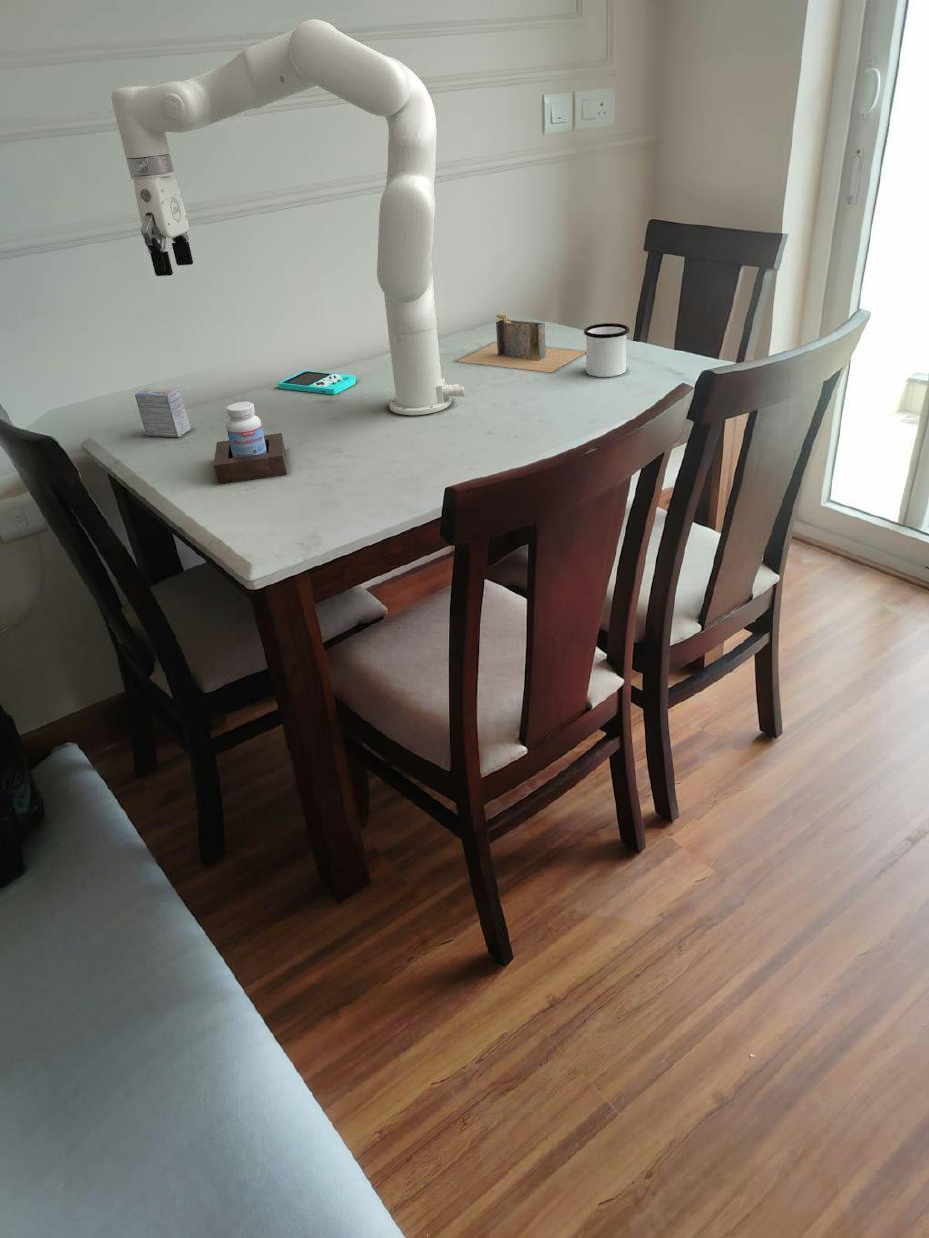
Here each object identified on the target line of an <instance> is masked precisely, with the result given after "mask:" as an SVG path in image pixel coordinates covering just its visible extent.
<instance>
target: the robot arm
mask: <svg viewBox="0 0 929 1238" xmlns="http://www.w3.org/2000/svg"><path fill="white" fill-rule="evenodd" d="M314 87H318V88H320V89H323V90H324V91H326V92H328V93H330V94H332V95H334V96H336V97H337V98H339V99H342V100H343V101H346V102H347V103H349V104H351V105H353V106H355V107H357V108H358V109H361V110H363V111H365V112H367V114H371V115H374V116H377V117H382V118H383V117H385V120H386V123H387V127H388V141H387V142H388V143H387V170H386V183H385V189H384V191H383V193H382V195H381V199H380V203H379V213H378V214H379V215H378V235H377V236H378V237H377V238H378V239H377V240H378V241H377V263H376V277H377V282H378V285H379V288H380V289H381V291H382V293H383V297H384V306H385V316H386V317H385V318H386V324H387V334H388V341H389V350H390V357H391V358H390V359H391V367H392V376H393V384H394V393H395V396H394V397H392V398H391V399H390V400H389V402H388V405H389V409H390V411H391V412H393V413H395V414H398V415H402V416H423V415H429V414H434V413H438V412H441V411H443V410H446V409H447V408H448V407H450V406H451V404H452V397H465V393H466V391H465V390H466V389H465V386H460V383H456V384H455V383H454V384H448V383H446V381H445V377H442V371H441V369H442V368H441V360H440V359H441V358H440V348H439V347H440V346H439V338H438V337H439V335H438V327H437V326H438V322H437V311H436V301H435V299H436V298H435V289H434V288H435V286H434V271H433V262H432V258H433V244H434V243H433V242H434V232H435V231H434V230H435V216H436V215H435V214H436V197H435V195H436V194H435V183H436V182H435V180H436V166H437V165H436V164H437V139H438V138H437V137H438V136H437V135H438V134H437V133H438V132H437V129H438V128H437V117H436V111H435V107H434V104H433V100H432V97H431V96H430V93H429V91H428V88H426V86H425V85H424V83H423V81H422V80H421V79H420V77H418V76H417V74H415V72H414V71H412V70H411V69H410V68H409V67H408V66H406V65H405V64H403V63H402V62H401V61H399V60H398V59H396V58H395V57H392V56H388V55H385V54H383V53H381V52H379V51H377V50H375V49H373V48H371V47H369V46H368V45H365V44H364V43H361V42H360V41H358V40H356V39H354V38H352V37H350V36H349V35H346V34H345V33H343V32H341V31H340V30H338V29H337V28H336V27H335V25H332V24H331V23H329V22H327V21H324V20H321V19H308V20H304V21H303V22H301V23H299V25H297V26H296V27H295V28H294V29H291V30H290V31H287V32H284V33H282V34H280V35H277V36H275V37H272V38H270V39H267V40H265V41H261V42H259V43H257V44H256V43H255V44H254V45H250V46H248V47H246V48H244V49H242V50H241V51H240V52H238V53H237V54H236V56H235V57H233V58H232V59H231V60H230V61H228V62H226V63H225V64H223V65H221V66H219V67H217V68H214V69H212V70H209V71H207V72H205V73H202V74H199V75H197V76H193V77H191V78H188V79H186V80H174V81H173V80H172V81H167V82H163V83H160V84H156V85H153V86H152V85H151V86H148V85H135V86H126V87H119V88H115V89H113V91H112V92H111V103H112V104H111V105H112V107H113V112H114V116H115V119H116V124H117V127H118V131H119V136H120V140H121V143H122V148H123V152H124V155H125V158H126V164H127V168H128V171H129V175H130V179H131V180H133V184H134V192H135V198H136V199H135V200H136V203H137V208H138V209H137V210H138V213H139V218H140V223H141V228H140V233H141V236H142V237H143V240H144V244H145V246H146V247H147V252H148V253H149V255H150V259H151V263H152V268H153V270H154V275H155V276H156V277H167V276H169V277H171V276H172V275H173V274H174V271H173V267H172V263H171V258H170V255H169V251H166V245H167V238H168V239H171V240H172V241H173V242H171V247H172V250H173V255H174V259H175V263H176V265H177V266H190V265H193V264H194V260H193V259H194V258H193V255H192V250H191V247H190V242H189V241H190V238H189V235H188V231H189V229H190V224H189V219H188V215H187V211H186V208H185V204H184V201H183V198H182V193H181V190H180V187H179V185H178V182H177V179H176V177H175V169H174V165H173V161H172V156H171V152H170V149H169V147H170V146H169V144H168V139H167V134H166V133H175V134H176V133H177V134H178V133H179V134H180V133H182V134H183V133H187V132H191V131H196V130H200V129H203V128H206V127H207V126H210V125H213V124H215V123H218V122H221V121H223V120H226V119H228V118H230V117H234V116H236V115H238V114H241V113H243V112H246V111H249V110H253V109H259V108H263V107H265V106H267V105H270V104H273V103H275V102H279V101H280V100H284V99H285V98H288V97H290V96H294V95H297V94H298V93H301V92H304V91H307V90H309V89H312V88H314Z"/></svg>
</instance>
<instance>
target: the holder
mask: <svg viewBox="0 0 929 1238" xmlns="http://www.w3.org/2000/svg"><path fill="white" fill-rule="evenodd" d="M264 439H265V444H266V449H267V453H265V454H258V455H251V456H244V457H236V458H233V456H232V451H231V446H230V442H229V439H228V440H222V441H216V445H215V451H214V452H215V453H214V459H213V469H214V470H213V471H214V474H215V478H216V483H217V485H223V484H230V483H236V482H244V481H250V480H258V479H264V478H265V479H266V478H273V477H278V476H279V477H280V476H286V475H287V474H288V473H287V457H286V447H285V441H284V437H283V432H280V433H272V434H271V433H270V434H264Z"/></svg>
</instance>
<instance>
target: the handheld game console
mask: <svg viewBox="0 0 929 1238" xmlns="http://www.w3.org/2000/svg"><path fill="white" fill-rule="evenodd" d="M356 382H357V381H356V376H355V375H353V374H344V373H333V372H332V373H331V372H324V371H314V370H302V371H300V372H298V373H296V374H294V375H292V376H289V377H287V378H285V379H283V380H281V381H278V382H277V386H278V389H281V390H291V391H300V392H309V393H315V394H316V393H317V394H318V393H319V394H326V395H327V394H328V395H337V394H339V393H340V392H343V391H345V390H346V389H349V388H350V387H353V386H354V385H355V384H356Z"/></svg>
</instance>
